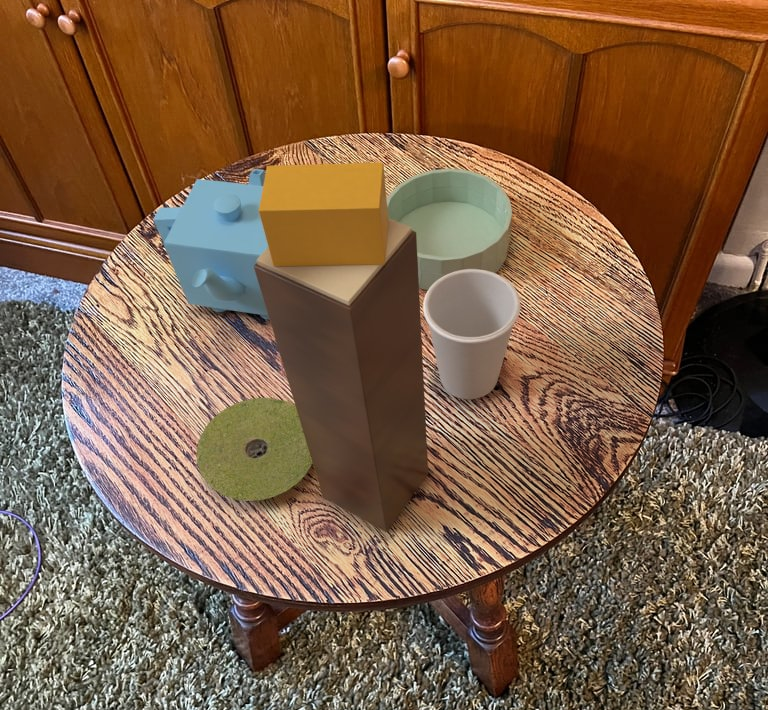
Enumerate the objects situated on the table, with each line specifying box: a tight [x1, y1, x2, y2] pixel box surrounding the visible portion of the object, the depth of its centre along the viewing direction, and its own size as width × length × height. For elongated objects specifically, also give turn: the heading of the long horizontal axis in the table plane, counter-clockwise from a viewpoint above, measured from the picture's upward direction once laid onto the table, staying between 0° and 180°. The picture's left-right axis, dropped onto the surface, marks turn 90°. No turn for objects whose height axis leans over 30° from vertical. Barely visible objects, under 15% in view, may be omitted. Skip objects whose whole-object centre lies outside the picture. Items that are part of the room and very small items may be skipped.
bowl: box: [386, 167, 513, 291], centre depth 82 cm, size 13×13×4 cm
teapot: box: [152, 168, 270, 320], centre depth 78 cm, size 16×18×11 cm
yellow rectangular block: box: [259, 161, 388, 266], centre depth 43 cm, size 6×4×4 cm, turn 87°
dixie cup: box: [422, 269, 521, 400], centre depth 71 cm, size 8×8×10 cm
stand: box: [254, 218, 429, 533], centre depth 58 cm, size 7×7×28 cm
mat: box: [196, 397, 313, 502], centre depth 72 cm, size 11×11×2 cm
